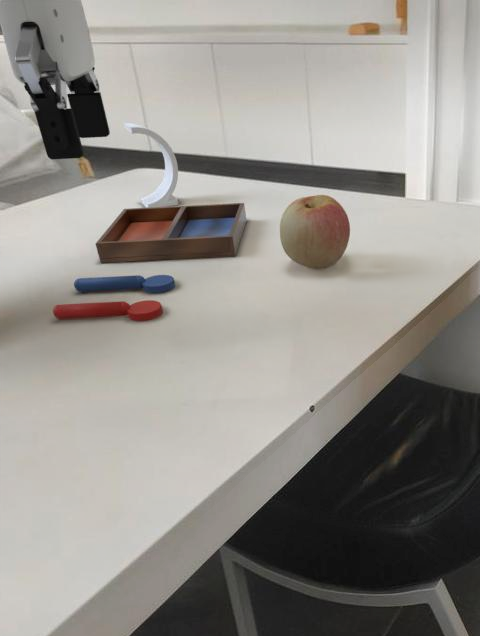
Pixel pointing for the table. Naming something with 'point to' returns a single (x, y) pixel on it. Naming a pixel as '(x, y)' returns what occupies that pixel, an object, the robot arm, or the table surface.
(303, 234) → the apple
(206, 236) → the tray
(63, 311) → the red spoon
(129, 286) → the blue spoon
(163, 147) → the headphone stand
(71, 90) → the robot arm
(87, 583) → the table surface
